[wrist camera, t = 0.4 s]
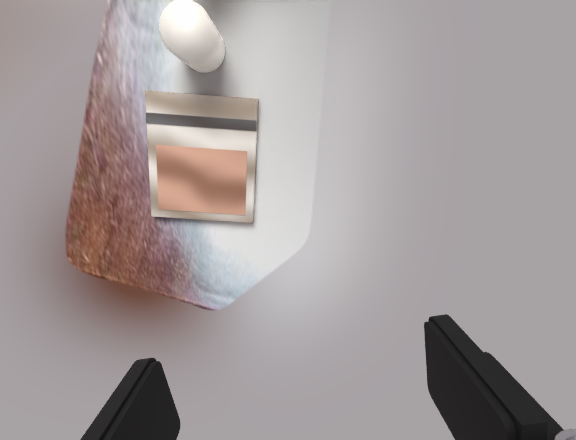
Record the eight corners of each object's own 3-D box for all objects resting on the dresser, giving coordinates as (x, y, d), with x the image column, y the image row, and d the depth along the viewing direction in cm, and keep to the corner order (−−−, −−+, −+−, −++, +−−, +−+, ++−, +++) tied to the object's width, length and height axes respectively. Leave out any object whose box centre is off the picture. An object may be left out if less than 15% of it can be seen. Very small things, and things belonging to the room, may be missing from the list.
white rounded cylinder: (180, 22, 33) (158, -4, 27) (225, 25, 33) (212, 1, 27) (181, 71, 34) (160, 56, 28) (225, 74, 34) (212, 60, 29)
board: (148, 91, 35) (144, 90, 34) (258, 99, 35) (257, 98, 34) (154, 214, 39) (151, 216, 38) (253, 221, 39) (252, 223, 38)
